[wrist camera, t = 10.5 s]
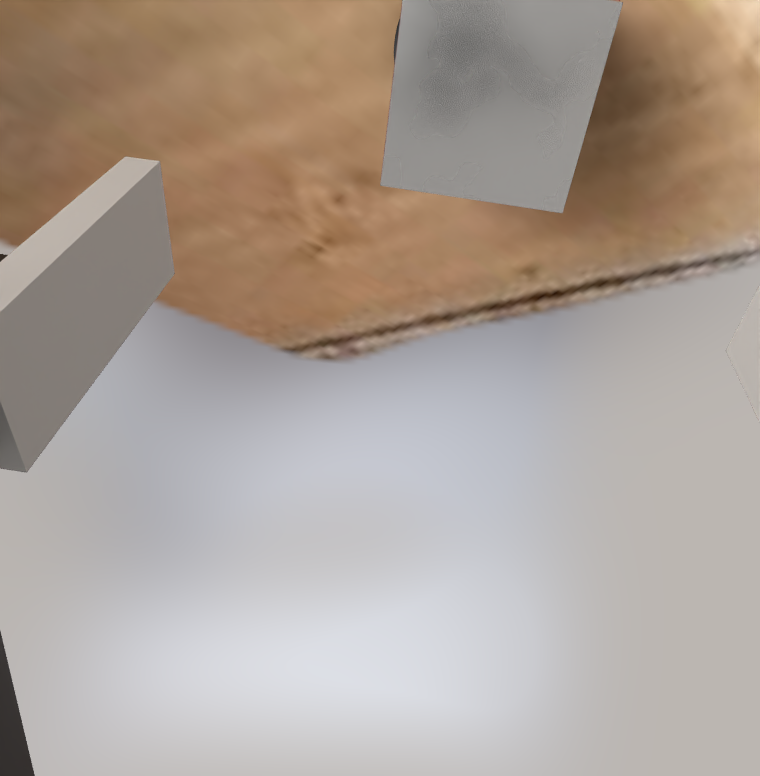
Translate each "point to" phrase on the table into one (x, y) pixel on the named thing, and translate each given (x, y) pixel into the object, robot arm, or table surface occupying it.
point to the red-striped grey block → (495, 97)
